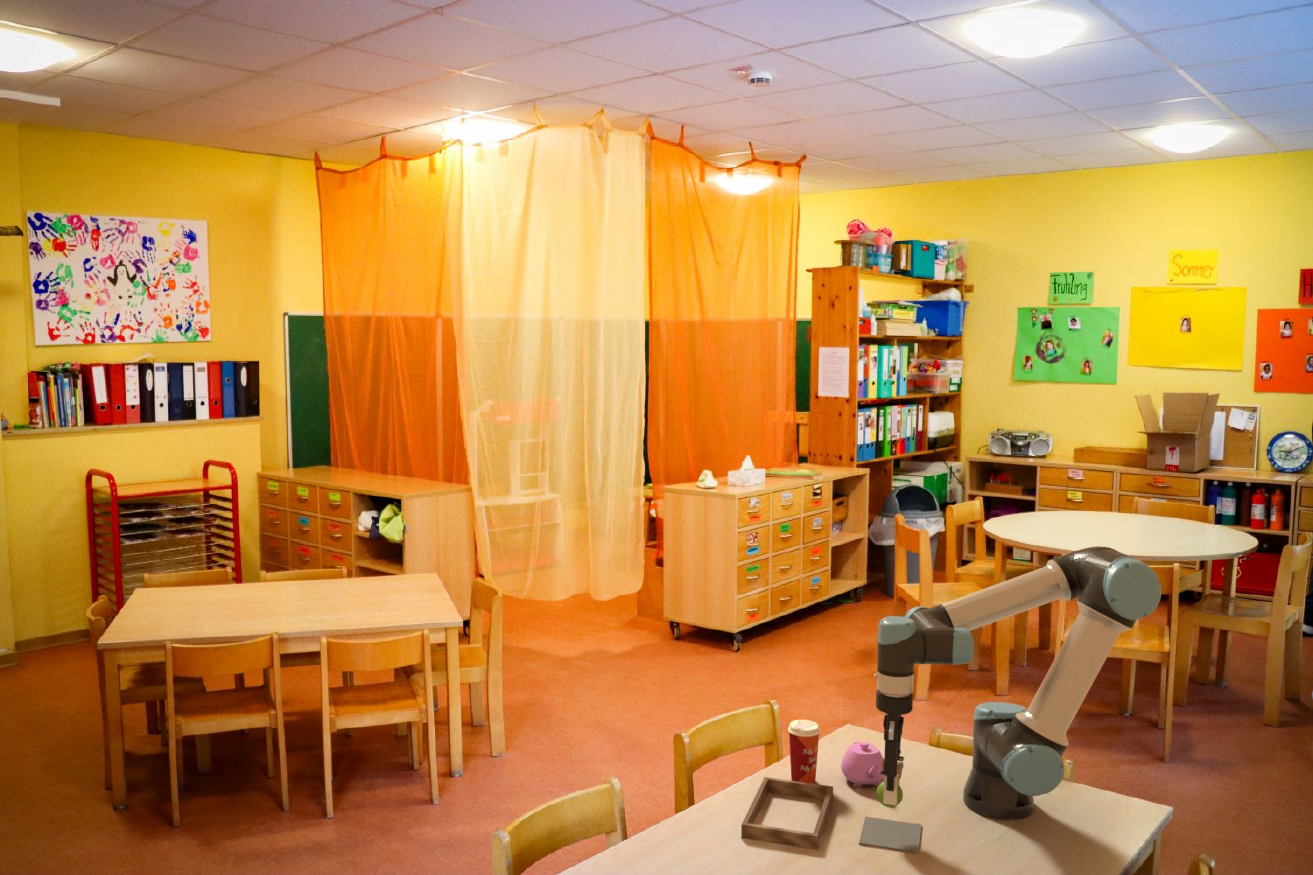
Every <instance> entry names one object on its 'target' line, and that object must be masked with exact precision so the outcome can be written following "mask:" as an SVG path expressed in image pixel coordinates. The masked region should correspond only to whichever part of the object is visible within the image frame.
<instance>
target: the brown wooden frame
mask: <svg viewBox="0 0 1313 875" xmlns="http://www.w3.org/2000/svg"><path fill="white" fill-rule="evenodd" d="M768 793H776V794H781V795H787V796H788V795H789V796H796V797H803V798H807V799H808V798H810V799H816V800H817V799H818V800H823V803H822V805H821V809H820V811H819V815H818V818H817V821H816V824H815V826H814V829H813V833H812V832H808V831H801V830H793V829H789V828H781V827H776V826H768V825H761V824H755V823H754V822H755V821H756V818H757V817H758V814H759V811H760V809H761V807H762V806H763V803H764V801H765V799H766V797H767V794H768ZM833 801H834V785H833V786H832V785H825V784H818V783H815V784H812V783H805V782H797V781H792V780H788V779H784V778H783V779H782V778H774V777H768V776H764V778H763V780H762V781H761V784H760V785H759V788H758V790H757V792H756V794H755V796H754V798H753V800H752V802H751V804H750V807H749V808H748V810H747V812H746V815H745V817H744V819H743V821H742V823H741V831H740V832H741V833H740V834H741V839H745V840H750V841H757V842H762V843H763V842H764V843H770V844H777V845H783V846H789V847H795V848H800V849H801V848H803V849H807V850H808V849H809V850H815V851H818V849H819V845H820V842H821V839H822V836H823V832H824V829H825V826H826V823H827V820H828V816H829V813H830V810H831V806H832V803H833Z"/></svg>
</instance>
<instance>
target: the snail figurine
mask: <svg viewBox="0 0 1313 875" xmlns="http://www.w3.org/2000/svg"><path fill="white" fill-rule="evenodd" d="M899 760H900V761H897V762H898V763H897V774H898V780H897V783H898V782H899V783H900V781H901V778H902V774H903V768H904V766H905V765H904V762H903V761H904V760H905V757H904V756H902V758H899ZM901 760H903V761H901ZM882 769H883V771H884V760H883V761H882ZM882 775H883V774H882ZM883 778H884V775H883ZM883 794H884V780H883V781H881V782H879V786H877V788H876V798H877V800H878V801H879V803H880V804H881V805H882V806H884V807H886V808H895V807H897V806H900V804H901V803H902V800H903V796H904V794H903V789H902V787H901V785H900V784H899V785H898V784H897V805H890V804H883Z"/></svg>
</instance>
